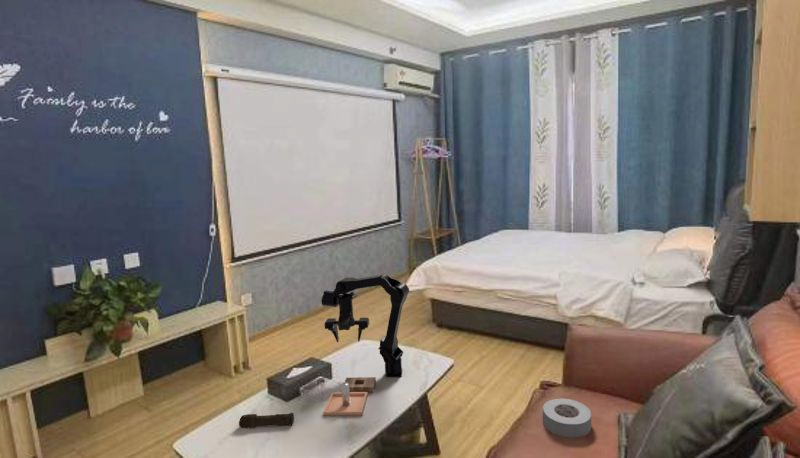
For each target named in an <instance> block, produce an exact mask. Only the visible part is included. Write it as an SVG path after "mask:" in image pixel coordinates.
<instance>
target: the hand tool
mask: <svg viewBox="0 0 800 458" xmlns="http://www.w3.org/2000/svg"><path fill="white" fill-rule="evenodd" d="M294 421H295V415H294V412H289V413H280V414H279V413H276V414H269V415H267V414H265V415H257V413H249V414H244V415H242V416H241V417H240V418H239V421H238V427H239V428H242V429H256V428H257V427H268V426H287V425H290V426H291V427H292V426H293V425H294Z"/></svg>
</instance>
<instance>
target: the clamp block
mask: <svg viewBox="0 0 800 458" xmlns="http://www.w3.org/2000/svg"><path fill="white" fill-rule="evenodd" d="M344 382H347V383H349V390H350V392H367V393H368V394H374V391H375V388H376V384H377V383H376V382H377V381H376V376H374V377H372V376H370V377H369V376H368V377H367V376H365V377H359V376H357V377H345V379H344Z"/></svg>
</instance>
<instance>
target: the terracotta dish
mask: <svg viewBox="0 0 800 458" xmlns="http://www.w3.org/2000/svg"><path fill="white" fill-rule="evenodd" d="M368 394H369V393H367V392H350V403H351V404H350V405H349V406H343V405H342V392H341V391H339V392H338V391H337V392H330V396H329V398H328V401H327V403H326V405H325V408H324V410H323V417H363V416H364V411H365V408H366V404H367V400H368V396H369V395H368Z"/></svg>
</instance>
